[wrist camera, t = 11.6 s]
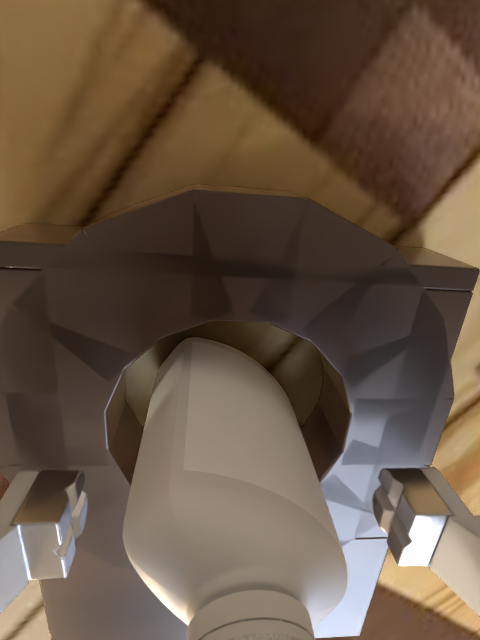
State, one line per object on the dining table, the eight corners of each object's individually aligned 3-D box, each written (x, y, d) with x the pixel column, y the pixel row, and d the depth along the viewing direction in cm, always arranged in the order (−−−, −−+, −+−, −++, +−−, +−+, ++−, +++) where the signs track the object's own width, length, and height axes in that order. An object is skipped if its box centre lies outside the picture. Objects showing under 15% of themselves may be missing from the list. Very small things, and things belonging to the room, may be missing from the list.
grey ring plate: (-4, 168, 12) (-69, 169, 9) (454, 203, 13) (519, 214, 10) (62, 583, 19) (38, 654, 16) (349, 572, 21) (372, 635, 18)
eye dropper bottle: (251, 307, 14) (420, 836, 3) (297, 418, 16) (495, 960, 5) (146, 349, 14) (-56, 974, 3) (205, 453, 16) (204, 1036, 5)
